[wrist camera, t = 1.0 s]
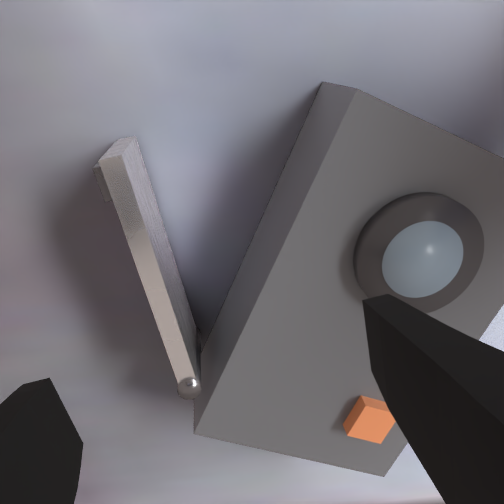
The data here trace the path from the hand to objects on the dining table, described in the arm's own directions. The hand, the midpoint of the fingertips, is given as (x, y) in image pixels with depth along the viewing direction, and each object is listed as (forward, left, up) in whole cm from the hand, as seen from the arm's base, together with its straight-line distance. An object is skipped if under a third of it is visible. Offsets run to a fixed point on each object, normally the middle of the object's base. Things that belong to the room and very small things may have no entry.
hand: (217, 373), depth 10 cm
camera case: (0, +6, -9) cm, 11 cm away
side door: (+2, -2, -9) cm, 9 cm away
